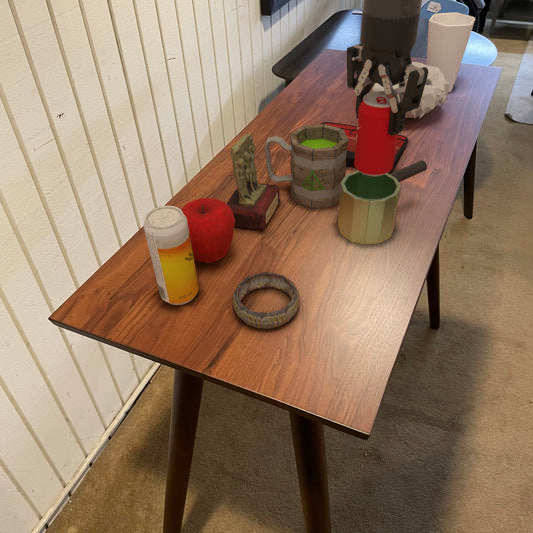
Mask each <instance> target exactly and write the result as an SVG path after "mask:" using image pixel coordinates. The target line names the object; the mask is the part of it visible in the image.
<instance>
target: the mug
mask: <svg viewBox="0 0 533 533" xmlns="http://www.w3.org/2000/svg"><path fill="white" fill-rule="evenodd" d="M289 139H290V144H288V143H287V142H286V141H285V139H283V138H282V137H280V136H277V135H274V136H270V137H268V138H267V139H266V143H265V145H264V154H265V160H266V162H265V163H266V171H267V175H268V176H269V178H270V180H271V181H274V182H276V183H284V182H290V194H291V197H292V200H293V202H294V203H296V204H298V205H300V206H304V207H305V208H308V209H311V210H314V209H323V208H333V207H335V205H337V204H338V203H339V202H340V188H341V182H342V180H343V179H344V177H345V176H346V175H347V174H346V173H347V166H346V152H347V146H348V141H349V140H348V138H347V136H346V134H345V132H344V130H343V129H340V128H336V127H333V126H330V125H327V124H321V123H319V124H307V125H306V124H305V125H302V126H300V127H299V128H297V129H296V130H294V131H293V132H291V133H290V134H289ZM271 143H276V144H279V147H281V148H282V149H283V150H285V151H286V152H290V161H289V165H290V174H285V175H280V176H279V175H276V174H275V173H274V170H273V164H272V162H273V161H272V152H271V149H270V145H271Z"/></svg>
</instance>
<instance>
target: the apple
mask: <svg viewBox="0 0 533 533" xmlns="http://www.w3.org/2000/svg"><path fill="white" fill-rule="evenodd" d="M180 209H181V210H182V212H183V214H184V215H185V216H186V218H187V223H188V228H189V234H190V240H191V246H192V251H193V257H194V261H197V262H201V263H205V264H212V263H215V262H218V261H220V260H221V259H223V258H224V257H226V256H227V254H228V253H229V252H230V248H231V246H232V242H233V238H234V232H235V227H236V226H235V218H234V215H233V212H232V210H231V208H230V206H229V205H228V204H227V202H224V201H223V200H220V199H217V198H212V197H200V198H196V199H193V200H190V201H189V202H187V203H186V204H184V205H183V206H182V207H181V208H180Z"/></svg>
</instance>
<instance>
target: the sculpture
mask: <svg viewBox="0 0 533 533" xmlns="http://www.w3.org/2000/svg"><path fill="white" fill-rule="evenodd" d="M255 144H256V142H255V141H254V137H253V136H252V133H247V134H245V135H243V136H242V137H241V138H240V139H239V140H238V141H237V142H236V143H235V144H234V145H233V146H232V147H231V148H230V157H231V164H232V169H233V176H234V180H235V185H236V189H235V190H234V191H233V193H232V194H231V196H230V198H229V199H228V201H227V202H226V204H228V205H229V206H230V208H231V210H232V212H233V215H234V218H235V226H234V227H239V228H247V229H254V230H256V229H258V230H265V228H266V226H267V224H268V223H269V222H270V220H271V218H272V216H273V214H274V213H275V211H276V209H277V208H278V207H279V204H280V203H281V199H280V198H281V197H280V195H281V194H280V190H281V188H280V187H279V186H278V185H277V184H268V183H262V182H261V183H260V182H259V180H258V175H257V168H256V161H255V158H256V153H255V152H256V151H257V148H256V145H255Z"/></svg>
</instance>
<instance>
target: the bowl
mask: <svg viewBox="0 0 533 533" xmlns="http://www.w3.org/2000/svg"><path fill="white" fill-rule="evenodd" d="M412 65H414V66H416V67H418V68H423V67H426V68H427V69H428V76H427V80H426V84H425V87H424V91H423V95H422V98H421V102H420V106H419V108H417V109H414V110H412V111H409V112H406V116H405V119H413V118H414V120H415V119H416V118H418V119H421V118H422V117H423V116H424V115H425V114H429V113H430V112H431V111H433V110H434V109H435V108H436V107H437V106H438V107H439V105H440V104H441V109H443V107H444V104H445V102H447V101H448V95H449V94H448V93H449V92H448V89H449V83H448V82H447V81H446V80H445V77H444V74H443V73H442V72H441V71H440V69H439V67H432V66H428V65H426V63H425V64H424V63H421V62H419V61H412ZM406 77H407V74H406ZM398 87H399V83H398V84H396V85H394V86H393V88H394V89H396V88H398ZM375 91H384V87H382V86H381V85H379V84H378V83H375V85H374V86H373V88H372V90H371V91H370V92H375ZM370 92H369V93H370ZM397 96H398V98H399V94H398V95H397ZM399 102H400V98H399Z"/></svg>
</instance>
